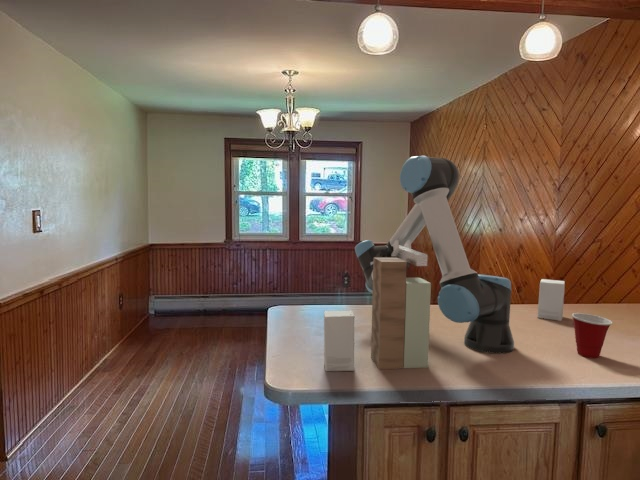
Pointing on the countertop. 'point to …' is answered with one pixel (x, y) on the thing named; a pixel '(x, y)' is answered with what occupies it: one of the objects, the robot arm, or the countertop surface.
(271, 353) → the countertop surface
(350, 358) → the skincare box
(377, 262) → the block
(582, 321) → the plastic cup
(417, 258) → the grey bar
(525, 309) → the countertop surface
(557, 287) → the supplement box
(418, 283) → the sage dock
